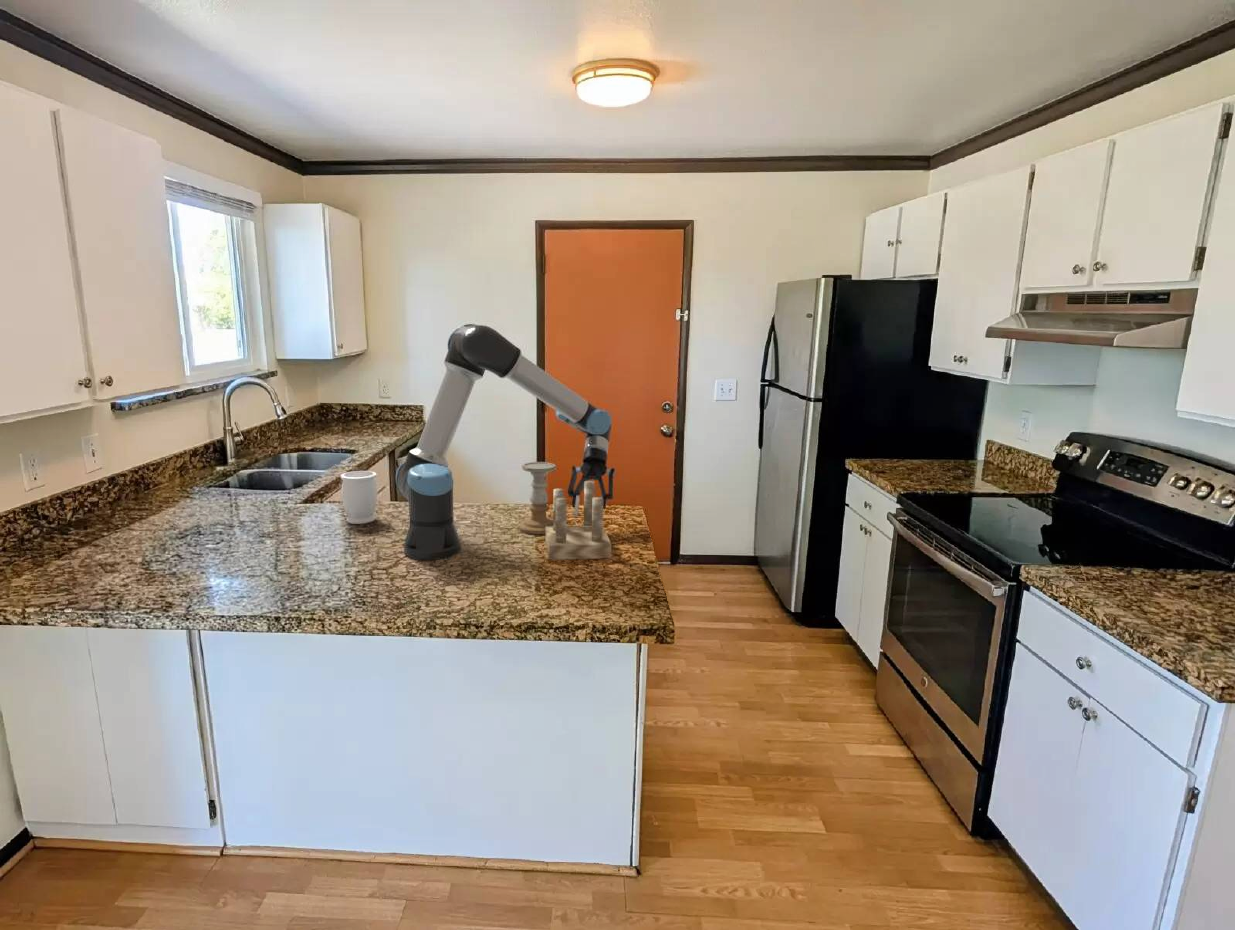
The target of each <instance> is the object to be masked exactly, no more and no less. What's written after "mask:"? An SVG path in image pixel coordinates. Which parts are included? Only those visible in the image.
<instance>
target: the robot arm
mask: <svg viewBox="0 0 1235 930" xmlns="http://www.w3.org/2000/svg"><path fill="white" fill-rule="evenodd" d="M447 350H448V351H447V353H446V356H445V358H444V361H443V364H444V366H445V368H446V371H445V374H444V376H443V378H442V381H441V384H440V385H439V388H438V392H437V393H436V397H435V399H434V401H433V404H432V407H431V409H430V412H429V415H428V417H427V420H426V422H425V425H424V427H423V430H422V432H421V435H420V438H419V440H418V443H417V445H416V447H415V448H412V449H410V450H409V451H408V454H407V456H406V458H405V461H404V462H403V463H401V464H400V465H399V466H398V468H397V470H396V473H395V483H396V486H397V490H398V491H399V493H400V494H401V495H402V497H404V498H405V499H406V500H407V502H408V510H409V511H408V512H409V513H408V514H409V526H408V530H407V533H406V536H405V540H404V543H403V553H404V555H405V556H406V557H408V558H410V559H414V560H421V561H423V560H424V561H425V560H426V561H428V560H429V561H431V560H432V561H433V560H440V559H441V560H442V559H446V558H449V557H450V558H451V557H453V556H455V555H457V554H459V553H460V552H461V545H462V543H461V539H460V536H459V533H458V530H457V528H456V526H455V525H456V524H455V523H454V522H455V521H454V478H453V473H452V471H451V469H450V468H449V463H448V461H447V459H446V457H447V454H448V452H449V450H450V446H452V445H451V444H452V441H453V439H454V436H455V435H456V432H457V429H458V426H459V424H460V422H461V419H462V416H463V413H464V411H465V409H466V406H467V404H468V401H469V398H470V396H471V393H472V391H473V387H474V386H475V383H476V381H478V380H480V379H482V378H483V376H484V374H485V372H486V371H488V372H490V373H492V374H494V375H496V376H497V377H499V378H501V379H505V378H507V379H508V380H509V381H511V382H512V383H515V385H518V386H519V387H520V388H522V389H523V390H524V391H526V392H527V393H529V394H531V395H533V396H534V398H536V399H538V400H540V401H541V402H543V403H544V404H546V405H547V406H548V407H550V408H552V409H553V410H555V417H556V418H557V419H558V420H560V421H561V422H562V423H565V424H567V425H569V426H570V427H572V428H573V429H576V430H577V431H580V433H583V434H585V437H586V438H585V442H584V449H583V451H584V452H583V457H582V463H581V465H580V466H575V465H572V467H571V471H572V474H571V478H570V480H569V485H568V489H567V495H568V497H569V498H572V500H571V506H572V508H574V510H573V516H574V519H575V520H576V519H578V514H579V510H580V509H579V507H580V502H581V501H580V500H581V499H580V494H581V493H582V491H583V490H584V482H585V481H592V480H593V481H597V483H598V485H599V486H598V487H599V489H600V494H601V496H600V497H601V498H603V510H605V509H606V507H607V501H608V500H613V498H614V477H615V475H616V471H615V468H613V467H612V468H608V467H607V461H608V453H609V452H608V451H609V445H610V437H611V436H610V435H611V429H612V415H611V413H610V412H609V411H607V410H605V409H601V408H597V407H596V406H595V405H593V404H592V403H590V402H588V401H587V400H586V399H585V398H584V397H582V396H580V395H579V394H578V393H576V392H575V391H573V390H572V389H570V388H569V387H567V385H565V384H563V382H561V381H559V380H558V379H557V378H555V377H553V376H552V375H550V374H549V373H548V372H546V371H545V370H544V369H542V368H540V367H539V366H538V365H537V364H535V363H533V362H532V361H531V360H529V359H528V358H526V357H525V356H524V355H523V354H522V350H521V348H519V347H517V346H516V345H515V344H514V343H512V342H511V341H510V340H508V339H507V338H506V337H505V336H503V335H502V334H501V333H500V332H499V331H497V330H496V329H494V328H492V327H491V326H487V325H482V324H481V325H479V324H473V323H468V324H466V323H465V324H462V325H460V326H458V327H456V328H455V329H454V330H453V331H451V334H450V335H449V337H448V340H447ZM580 472H581V473H582V476H581V479H580V480H579V482H578V483H577V478H578V475H579V474H580ZM605 474H607V476H608V493H606V489H605V485H604V482H603V476H604V475H605ZM576 483H577V486H576ZM575 487H576V488H575Z"/></svg>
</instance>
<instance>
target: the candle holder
mask: <svg viewBox="0 0 1235 930" xmlns="http://www.w3.org/2000/svg"><path fill="white" fill-rule="evenodd" d="M521 469H522V470H523V471H525V472H529V473H530V475H531V476H532V479H533V480H532V481H531V482H530V485H531V486H532V490H531V494H530V496H529V501H530V503H531V504H530V505H529V509H528V510H530V511H531V516H530V517H527V518H525V519H524V520H522V521H520V523H518V529H519V531H520V532H522V533H525V534H528V535H539V536H540V535H545V528H546V526H553V518H550V517H547V511H548V510H549V506H548V505H547V502H548V500H549V498H548V495H547V491H546V486H547V485H548V482H546V479H545V477H546V476H547V475H548V473H550V472H553V471H555V470H557V465H556V464H554V463H552V462H547V461H546V462H545V461H533V462H525V463H523V464H522V465H521Z"/></svg>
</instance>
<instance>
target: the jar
mask: <svg viewBox="0 0 1235 930" xmlns="http://www.w3.org/2000/svg"><path fill="white" fill-rule="evenodd" d="M376 478H377V473H376V472H375V471H369V470H353V471H348V472H344V473H342V474H340V479H341V480H342V482H341V499H342V504H343V508H344V512H345V514H346V515H347V518H346V522H347V523H349V524H352V525H353V524H354V525H362V524H363V525H364V524H368V523H369V524H370V523H372V522H373V521H375V520H376V517H375V515H374V513H375V512H376V509H377V503H378V502H377V501H378V485H377V482H376Z"/></svg>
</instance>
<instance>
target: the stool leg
mask: <svg viewBox="0 0 1235 930" xmlns="http://www.w3.org/2000/svg"><path fill="white" fill-rule="evenodd" d="M595 489H596V482H595V480H588V481H585V482H584V488H583V490H584V491H583V526H592V498H594V497H596V496H595V495H596V493H595V492H596V490H595Z"/></svg>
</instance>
